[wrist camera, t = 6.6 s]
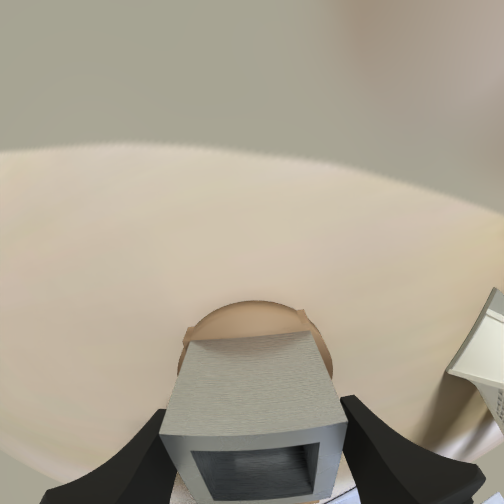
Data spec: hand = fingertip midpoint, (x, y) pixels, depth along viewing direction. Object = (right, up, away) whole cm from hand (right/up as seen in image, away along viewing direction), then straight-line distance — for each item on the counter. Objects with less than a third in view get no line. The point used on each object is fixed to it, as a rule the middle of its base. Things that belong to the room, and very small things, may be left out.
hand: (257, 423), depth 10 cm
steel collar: (0, +1, +3) cm, 3 cm away
